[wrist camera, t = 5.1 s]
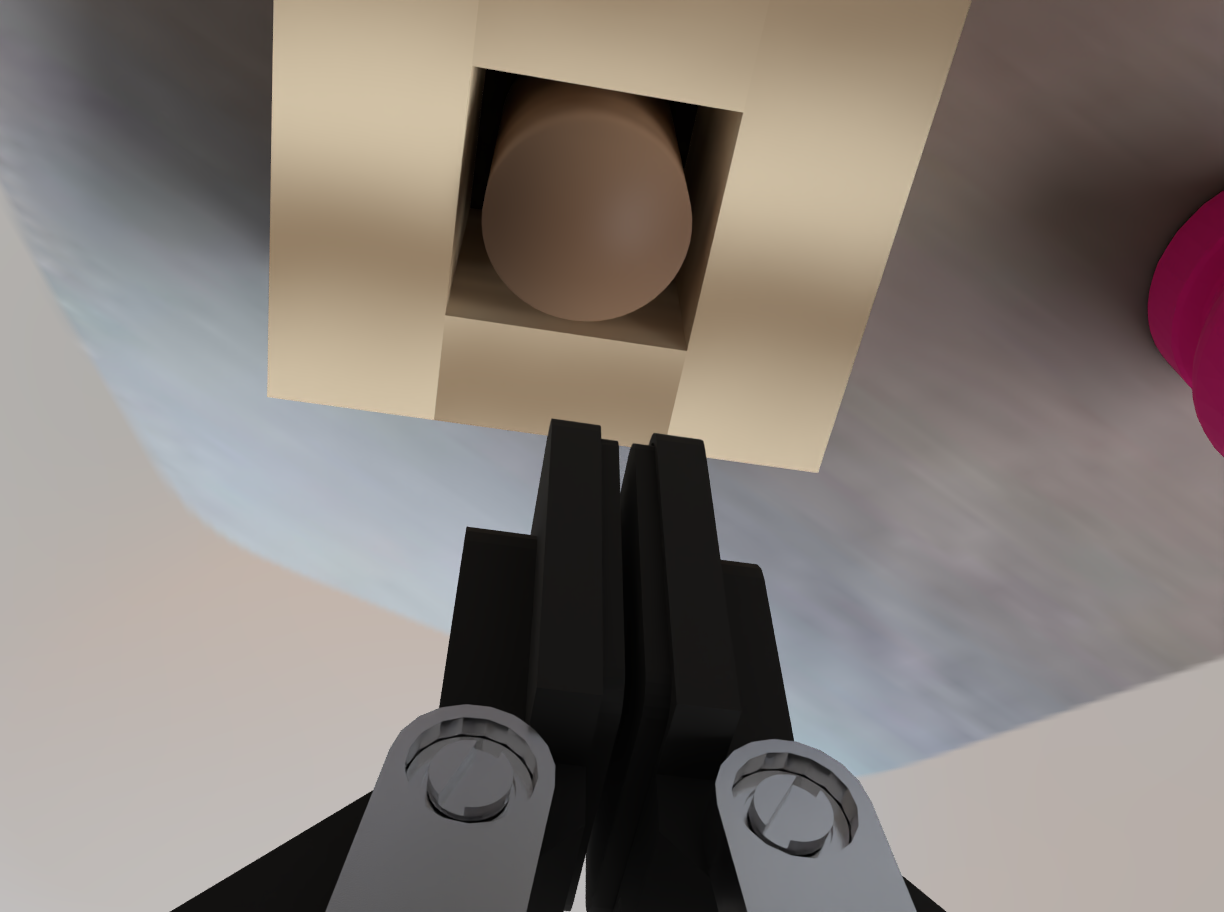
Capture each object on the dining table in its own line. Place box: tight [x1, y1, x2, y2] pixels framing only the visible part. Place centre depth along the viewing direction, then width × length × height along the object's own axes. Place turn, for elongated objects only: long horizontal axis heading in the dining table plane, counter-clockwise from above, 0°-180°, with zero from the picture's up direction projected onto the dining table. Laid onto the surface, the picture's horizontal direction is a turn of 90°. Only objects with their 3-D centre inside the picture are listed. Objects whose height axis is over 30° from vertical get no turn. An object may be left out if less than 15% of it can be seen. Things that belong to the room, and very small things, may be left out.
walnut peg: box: [482, 74, 692, 321], centre depth 24 cm, size 4×4×6 cm
